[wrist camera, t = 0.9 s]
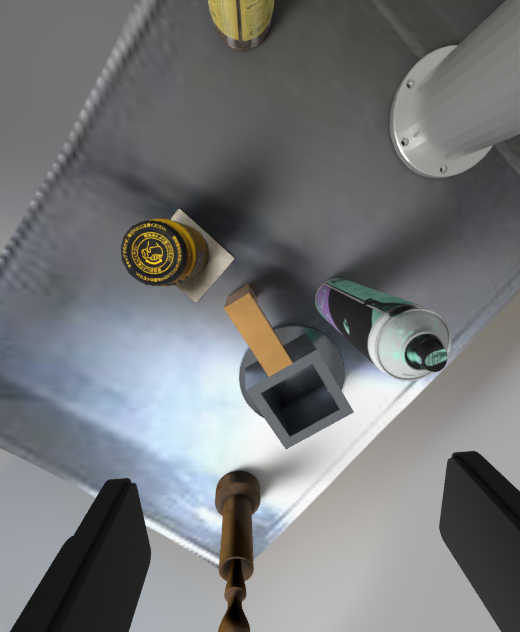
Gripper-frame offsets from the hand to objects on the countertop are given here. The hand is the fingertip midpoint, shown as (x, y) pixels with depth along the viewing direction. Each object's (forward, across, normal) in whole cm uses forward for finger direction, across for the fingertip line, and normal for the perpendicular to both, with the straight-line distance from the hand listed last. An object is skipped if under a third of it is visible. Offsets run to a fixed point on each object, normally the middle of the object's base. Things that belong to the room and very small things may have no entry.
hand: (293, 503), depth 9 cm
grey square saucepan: (+29, -2, +8) cm, 30 cm away
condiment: (+29, +8, -6) cm, 31 cm away
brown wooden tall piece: (+28, +5, +28) cm, 40 cm away
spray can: (+29, -10, 0) cm, 31 cm away
